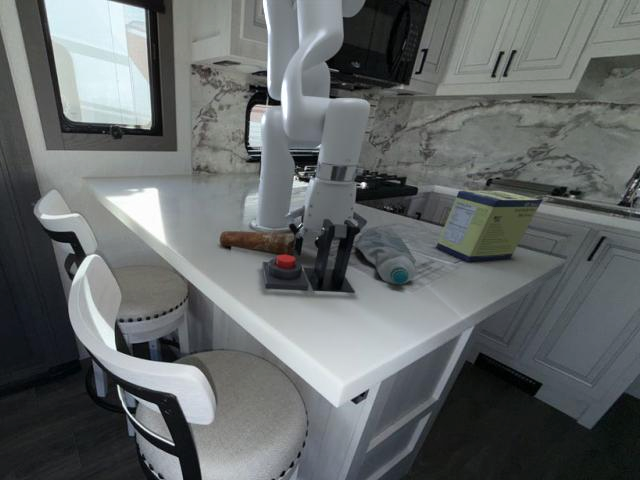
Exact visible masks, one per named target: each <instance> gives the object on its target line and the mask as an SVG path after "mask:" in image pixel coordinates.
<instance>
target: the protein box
mask: <svg viewBox="0 0 640 480" xmlns="http://www.w3.org/2000/svg"><path fill="white" fill-rule="evenodd" d="M542 202H543V199H541V198H537V197H532V196H527V195H522V194H518V193H515V192H511V191H510V192H509V191H505V190H459V191H458V192H457V195H456V197H455V200H454V202H453V205H452V207H451V209H450V211H449V215H448V217H447V218H446V222H445V224H444V226H443V228H442V229H443V230H442V231H441V234H440V236H439V239H438V241H437V243H436V246H435V248H436V249H439V250H440V251H443V252H445V253H447V254H450V255H452V256H454V257H456V258H458V259H460V260H463V261H464V262H467V263H469V262H483V261H485V262H486V261H495V260H496V261H497V260H499V261H500V260H509V259H511V258H512V257H513V255H514V253H515V252H516V250H517V247H518V246H519V244H520V242H521V240H522V239H523V237H524V235H525V233H526V231H527V229H528V227H529V225H530V224H531V222H532V220H533V219H534V216H535V214H536V213H537V211H538V209H539V207H540V206H541V204H542Z"/></svg>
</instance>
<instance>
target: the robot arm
mask: <svg viewBox="0 0 640 480" xmlns="http://www.w3.org/2000/svg"><path fill="white" fill-rule="evenodd" d="M365 2H366V0H262V8H263V14H264V18H265V24H266V29H267V66H266V67H267V68H266V69H267V71H266V72H267V73H266V75H267V76H266V77H267V78H266V79H267V81H266V83H267V92H268V95H269V97H270V98H271V99H273V100H275V101H280V105H275V106H270V107H269V108H268V109H266V110H265V111H264V113H263V114H262V117H261V119H260V137H261V138H260V139H261V140H260V141H261V162H260V175H259V189H258V197H257V198H258V200H257V213H256V218H254V219H253V220H252V221H251V224H250V225H251V228H253V229H255V230H267V231H291V232H292V234H294V235H295V240H294V246H293V249H292V250H293V251H295V254H296V256H301V255H302V249H303V245H304V244H303V243H304V237H303V236H304V235H305V234H306V233H307V232H308V231H317V232H321V230H322V226H323V221H324V219H329V220H330V221H331V222H332V223H333V224H344V221H345V220H350V221H351V222H352V223H353V220H354V221H356V223H355V224H354V225H355V226H357V231H356V235H355V237H356V236H357V235H359V234H360V233H361V231H362V230H363V228H364V227H365V226H366V225H367V223H368V220H367V219H366V218H365V217H363V216H362V215H360V214H359V213H357V212H356V211H355V207H356V197H357V182H356V181H355V180H356V178H357V177H361V176H363V174H364V168H360V167H359V165H358V164H359V160H360V156H361V152H362V148H363V143H364V139H365V134H366V131H367V127H368V123H369V118H370V114H371V105H370V102H369V101H368V100H367V99H364V98H356V97H336V98H330V91H331V72H330V69H329V66H328V64H327V61H328V60H330V59H331V58H333V57H334V56H335V55H336V54H337V53H338V52H339V51H340V50H341V48H342V46H343V43H344V38H345V37H344V36H345V35H344V34H345V33H344V19H343V18H352V17H354V16H356V15H357V14H358V13H359V12H360V11H361V9H362V8H363V6H364V5H365ZM293 3H296V10H295V8H294V7H293ZM319 146H320V147H319ZM318 147H319V153H318V156H317V157H318V158H317V164H316V169H315V175H314V177H311V178H310V179H309V182H308V184H307V187H306V188H307V189H306V191H305V195H304V198H303V203H302V207H300V208H298V209H295V210H293V211H291V212H290V209H291V202H292V195H293V194H292V193H293V188H294V187H293V186H294V179H295V171H296V164H295V160H294V158H293V156H292V154H291V152H290V149H316V148H318ZM297 218H300V219H299V220H300V224H299V225H296V224H295V223H294V220H295V219H297ZM339 243H340V240H338V245H337V249H336V253H337V252H338V247H339Z"/></svg>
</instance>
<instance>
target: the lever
mask: <svg viewBox="0 0 640 480" xmlns="http://www.w3.org/2000/svg"><path fill="white" fill-rule="evenodd" d="M334 225H335V229H334V234H333V238H332V241H339V240H342V239H344V238H346V232H347V225H346V224H334ZM320 236H321V234H319V235H318V236H316V237H315V239H314V246H315V248H317V249H318V247H319V242H320Z"/></svg>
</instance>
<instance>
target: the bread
mask: <svg viewBox="0 0 640 480" xmlns="http://www.w3.org/2000/svg"><path fill="white" fill-rule="evenodd" d="M294 240H295V235H294V233H282V232H267V231H245V230H244V231H243V230H224V231H222V232H221V234H220V236H219V244H220V245H221V246H223V247H228V248H232V247H237V248H242V249H249V250H254V251H260V252H264V253H270V254H275V255H290V256H292V251H293V250H294V249H293V246H294Z"/></svg>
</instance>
